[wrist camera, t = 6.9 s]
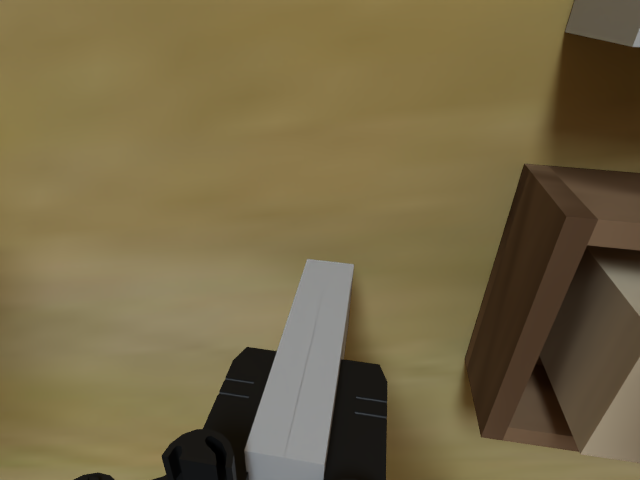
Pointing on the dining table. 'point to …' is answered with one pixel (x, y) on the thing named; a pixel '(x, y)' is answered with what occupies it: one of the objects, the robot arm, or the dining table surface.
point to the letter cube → (599, 354)
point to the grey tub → (606, 20)
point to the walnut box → (541, 293)
